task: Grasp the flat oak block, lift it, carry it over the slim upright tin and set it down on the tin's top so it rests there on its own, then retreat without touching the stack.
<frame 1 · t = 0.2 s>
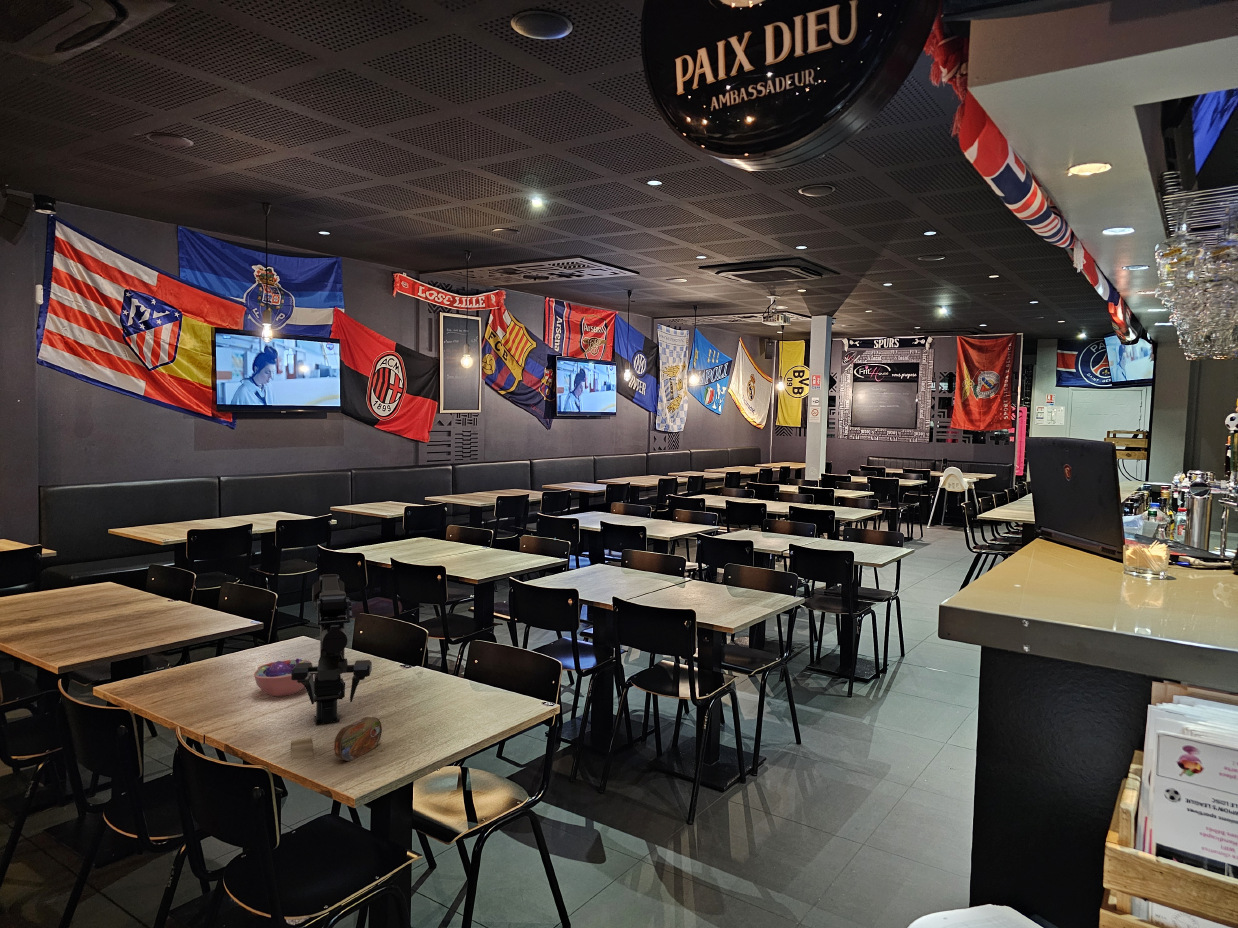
hand: (332, 702, 190), 14 cm above the table, fingers open, 9 cm apart
tin: (358, 754, 192), on the table
cell model: (284, 693, 237), on the table
oak block: (301, 754, 191), on the table
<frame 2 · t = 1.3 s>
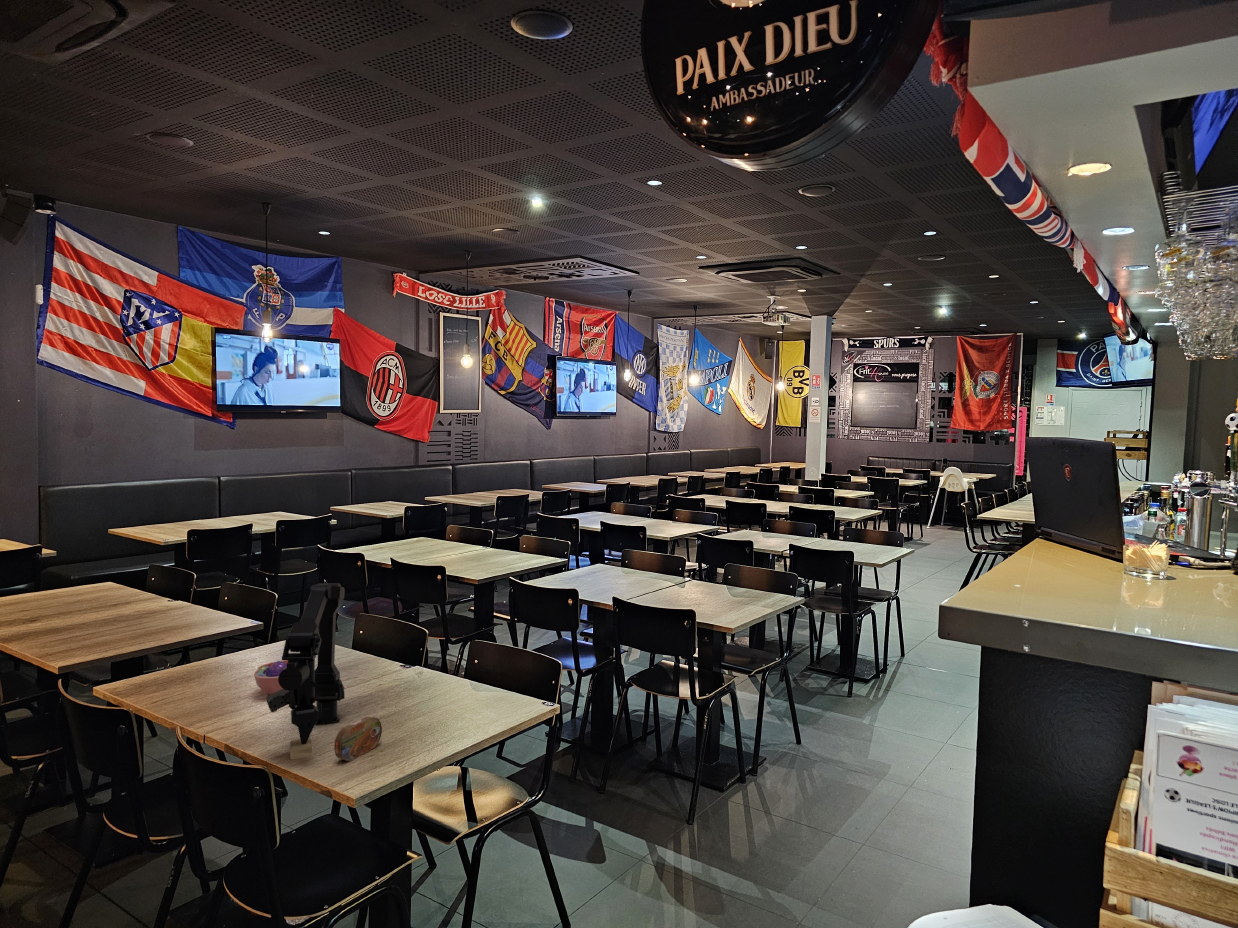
hand: (302, 737, 192), 4 cm above the table, fingers open, 9 cm apart
nothing on the table moved.
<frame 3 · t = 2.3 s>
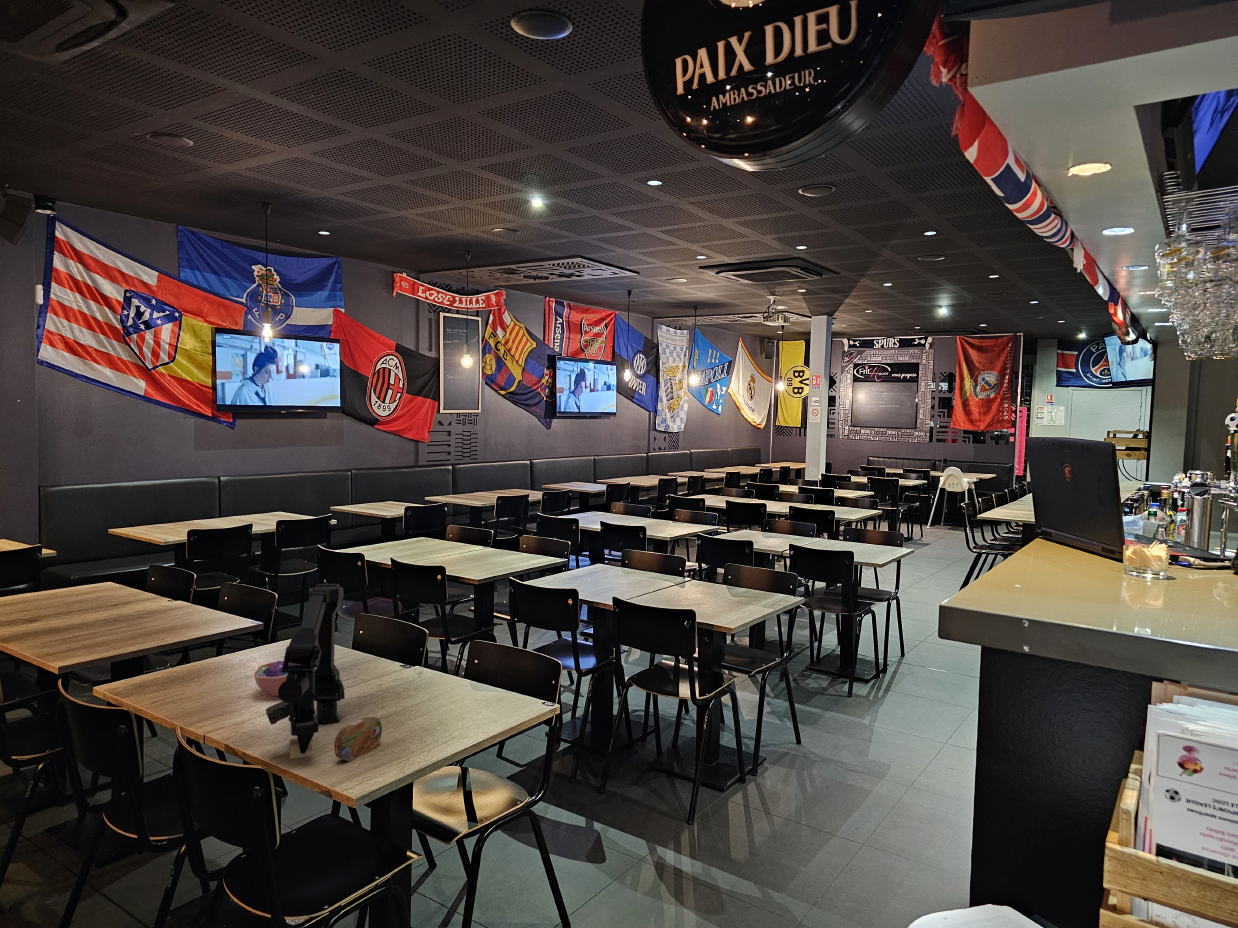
hand: (302, 749, 192), 1 cm above the table, fingers closed on oak block, 5 cm apart
oak block: (300, 753, 191), on the table, touching gripper
everything else where it was.
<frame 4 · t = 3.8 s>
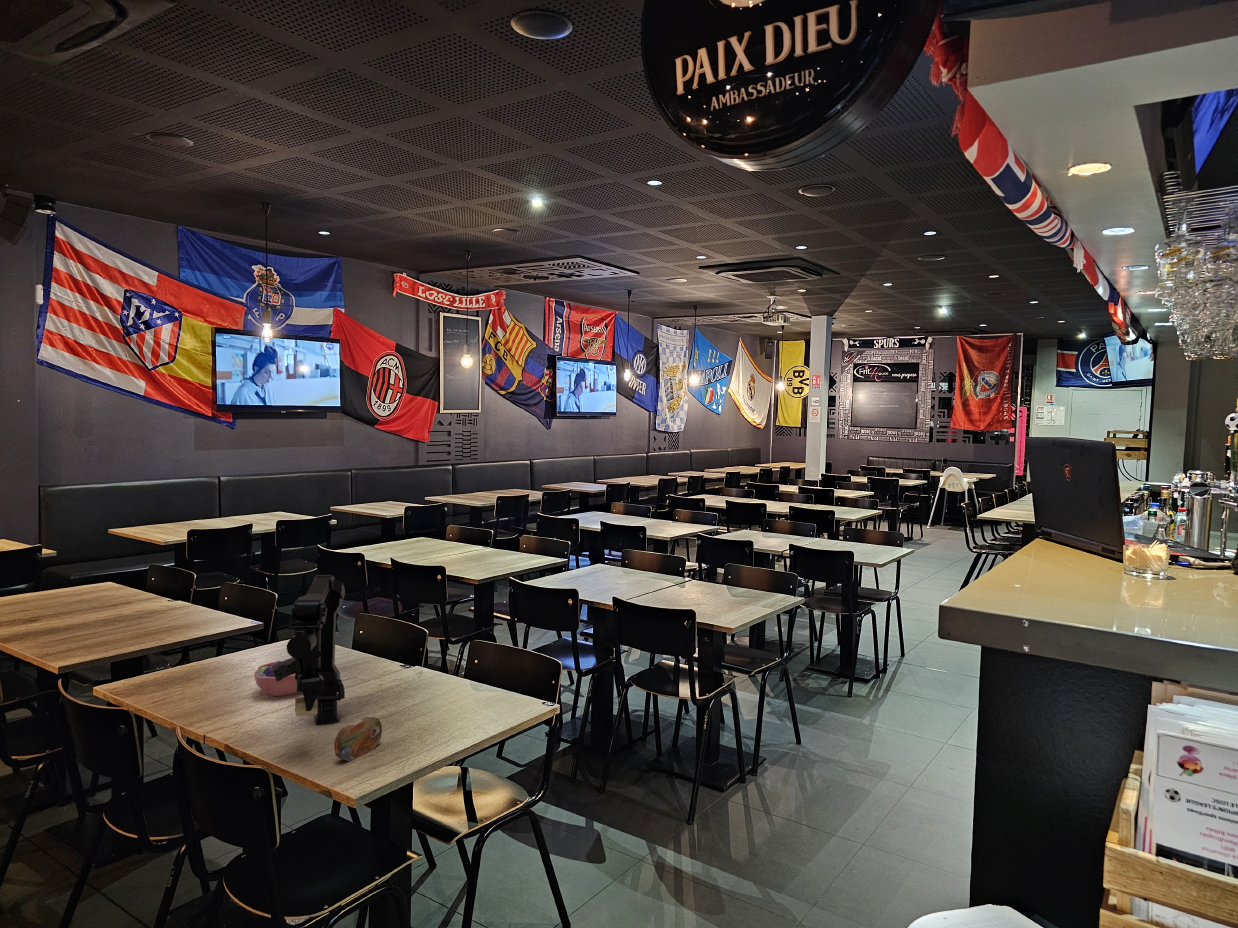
hand: (308, 707, 191), 12 cm above the table, fingers closed on oak block, 5 cm apart
oak block: (306, 711, 191), point 11 cm above the table, touching gripper
everything else where it was.
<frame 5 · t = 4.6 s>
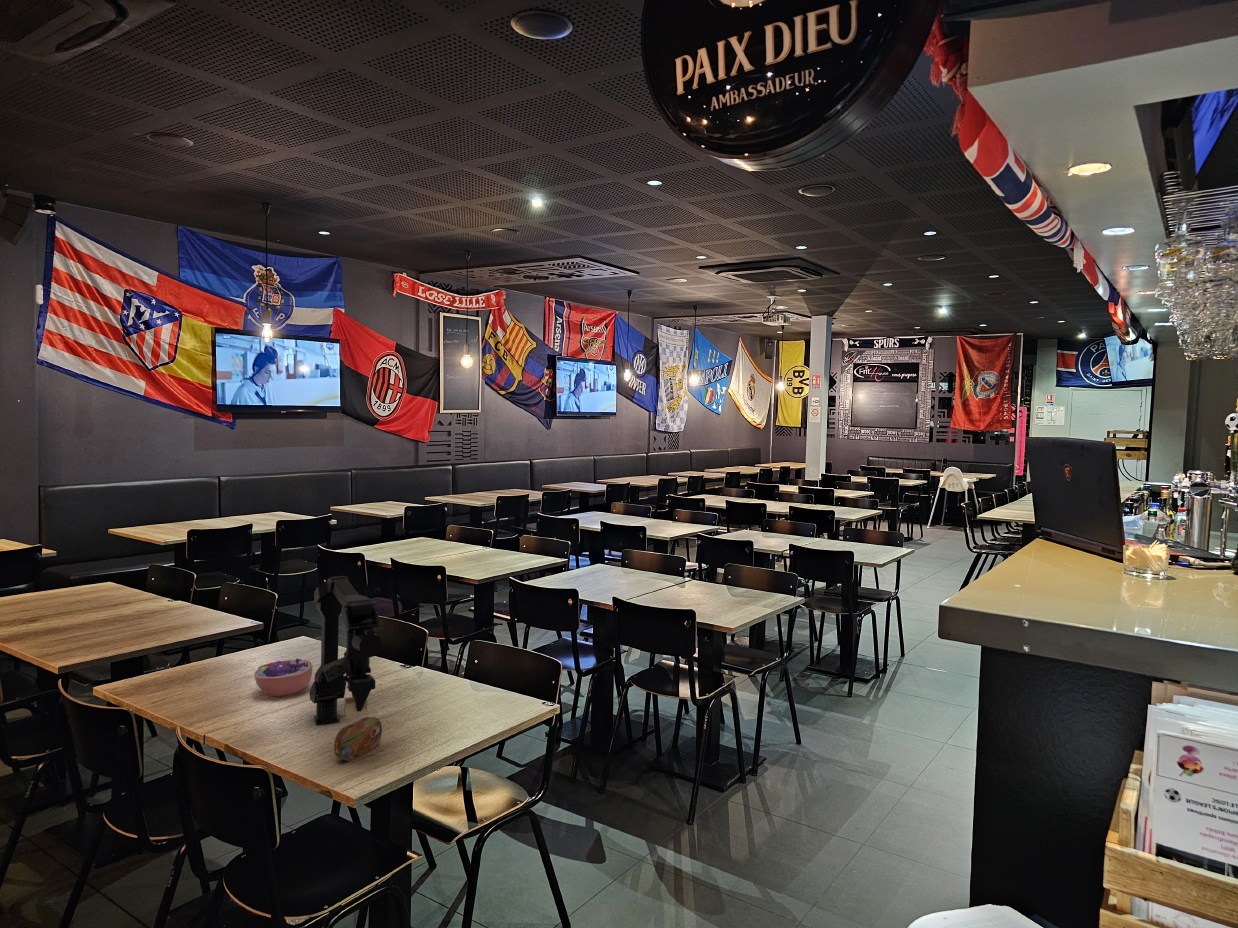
hand: (357, 707, 192), 12 cm above the table, fingers closed on oak block, 5 cm apart
oak block: (355, 712, 192), point 11 cm above the table, touching gripper
everything else where it was.
when the fingers open (10 cm above the table, at t = 5.2 s): oak block drops 1 cm, resting on tin.
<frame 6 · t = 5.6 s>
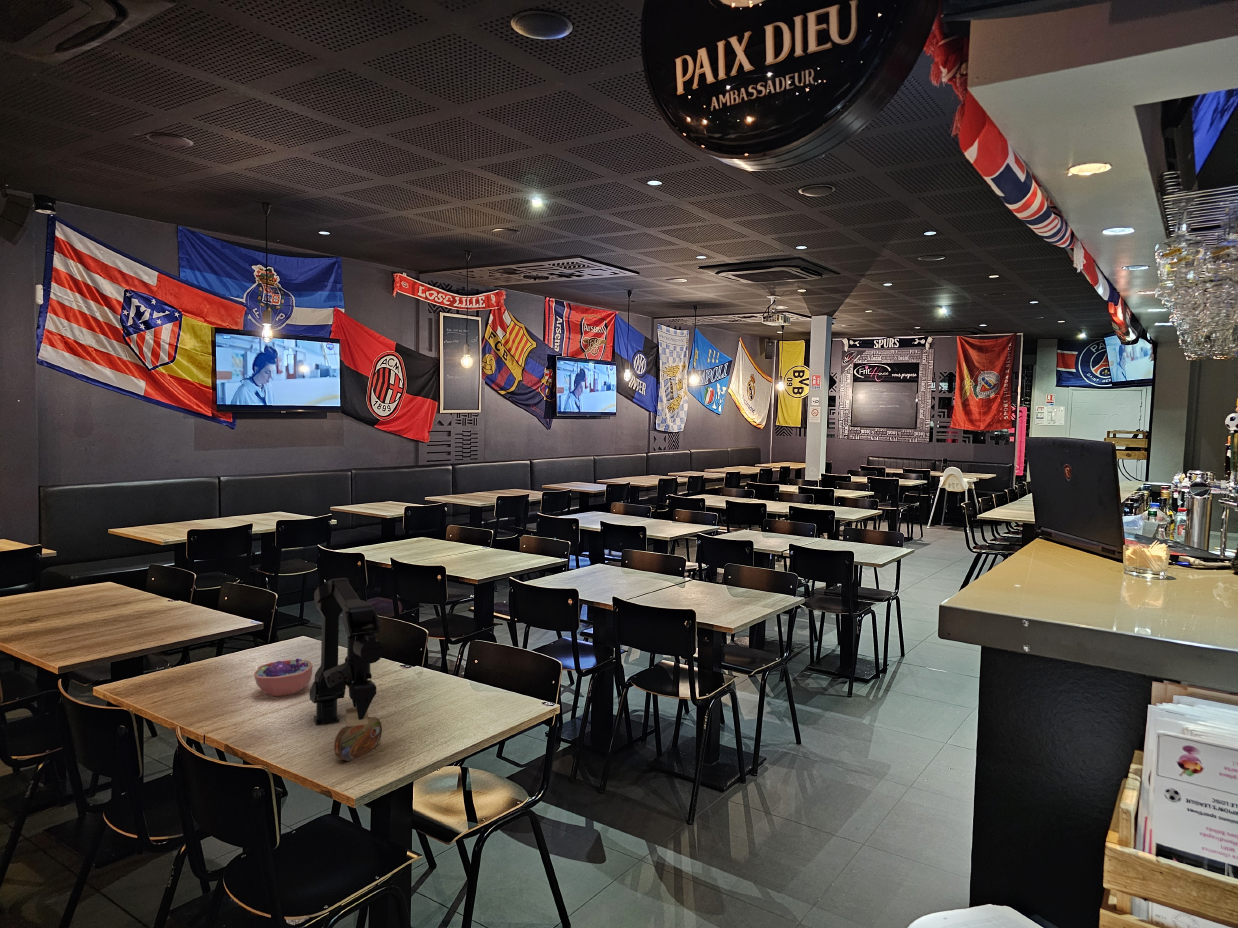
hand: (358, 713, 192), 10 cm above the table, fingers open, 9 cm apart
tin: (358, 754, 192), on the table, touching oak block
oak block: (356, 722, 192), point 8 cm above the table, touching tin
everything else where it was.
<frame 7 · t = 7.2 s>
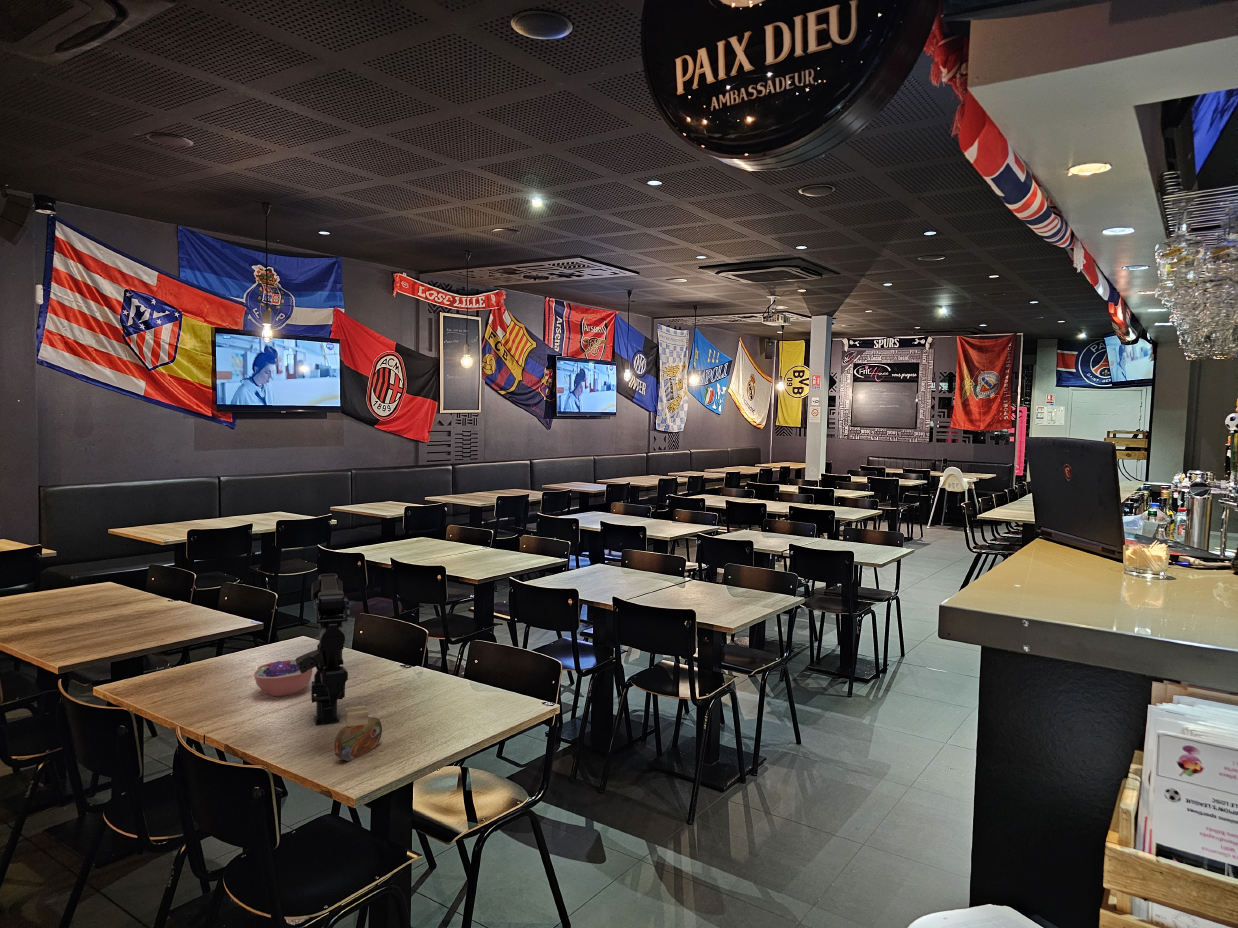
hand: (330, 698, 197), 13 cm above the table, fingers open, 9 cm apart
tin: (358, 754, 192), on the table
oak block: (356, 721, 192), point 8 cm above the table
everything else where it was.
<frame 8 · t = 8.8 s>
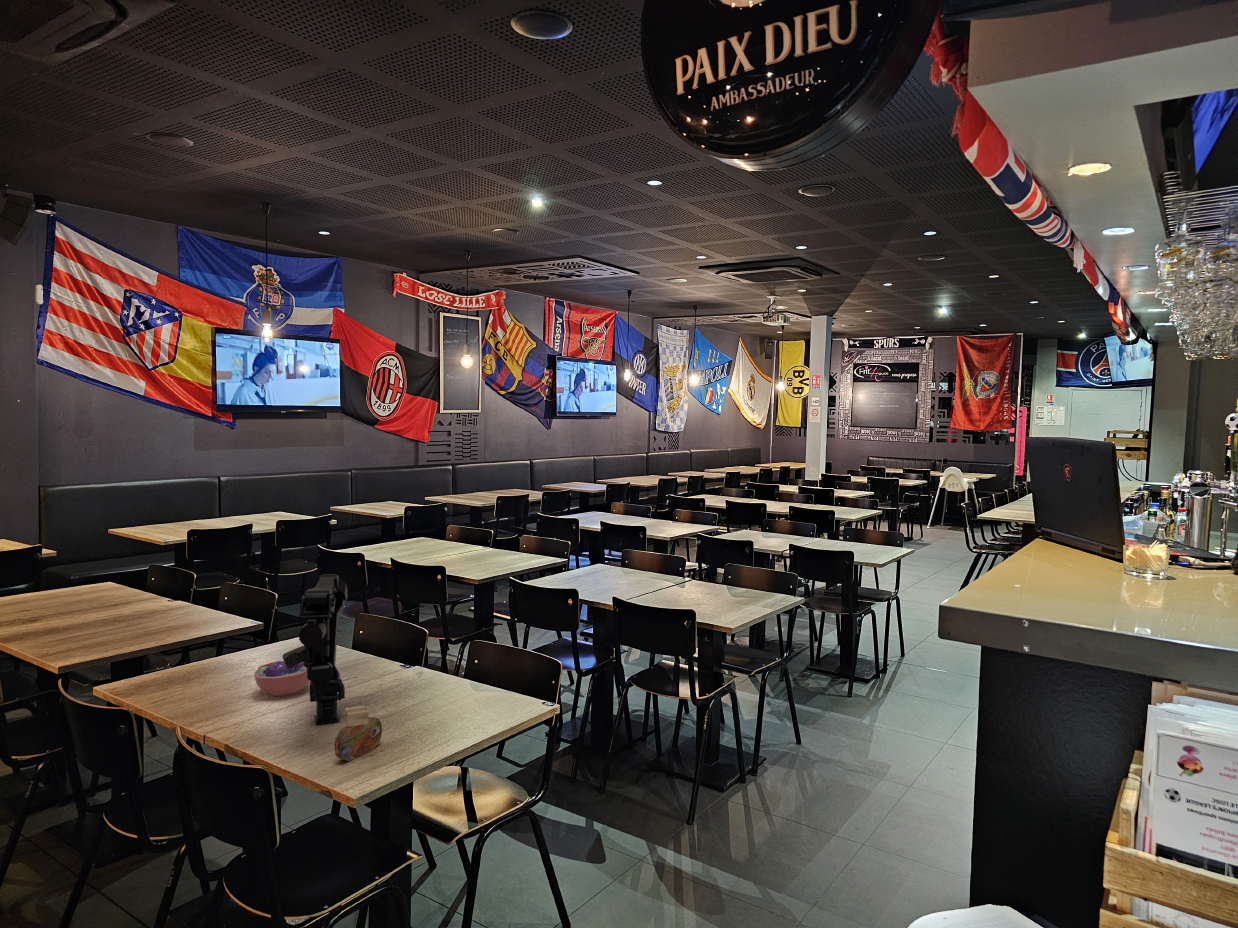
hand: (317, 694, 198), 13 cm above the table, fingers open, 9 cm apart
tin: (358, 754, 192), on the table, touching oak block
oak block: (356, 721, 192), point 8 cm above the table, touching tin
everything else where it was.
at the end: oak block inside the target area on the tin (0.5 cm from its centre), point 8.6 cm above the tin's base; oak block tilted 0°; the gripper is holding nothing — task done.
